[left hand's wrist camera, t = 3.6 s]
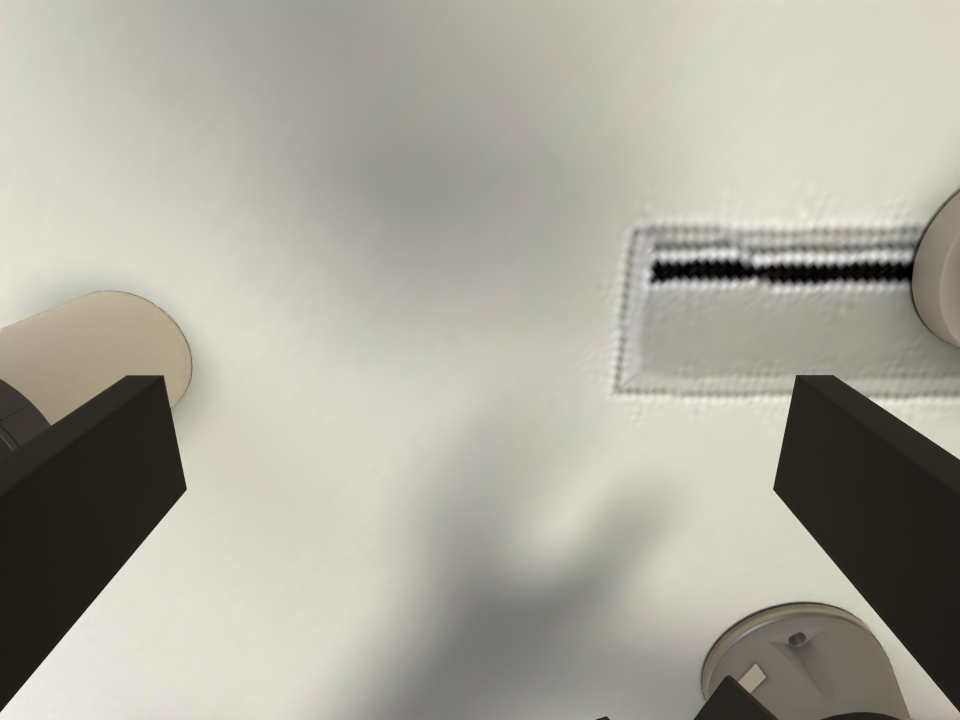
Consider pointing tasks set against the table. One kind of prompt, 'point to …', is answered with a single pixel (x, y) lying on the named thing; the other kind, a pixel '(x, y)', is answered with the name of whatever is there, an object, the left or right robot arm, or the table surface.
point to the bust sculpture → (940, 274)
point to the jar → (92, 351)
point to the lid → (17, 419)
